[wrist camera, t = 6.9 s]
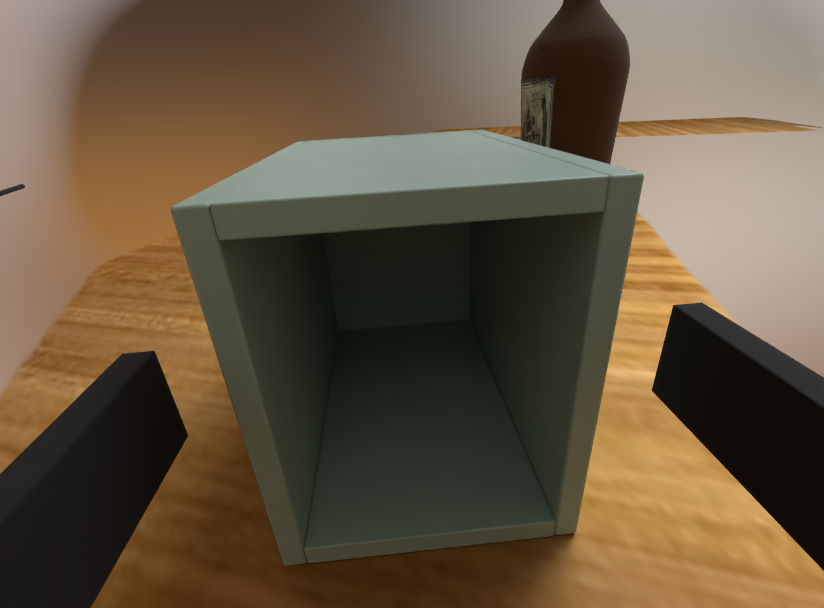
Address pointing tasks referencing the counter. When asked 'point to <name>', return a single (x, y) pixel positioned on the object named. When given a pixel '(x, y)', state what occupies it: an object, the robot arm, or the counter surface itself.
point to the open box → (414, 333)
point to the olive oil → (575, 82)
